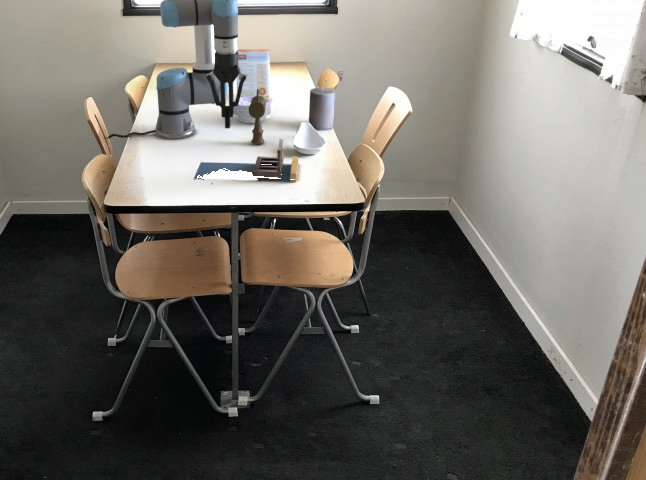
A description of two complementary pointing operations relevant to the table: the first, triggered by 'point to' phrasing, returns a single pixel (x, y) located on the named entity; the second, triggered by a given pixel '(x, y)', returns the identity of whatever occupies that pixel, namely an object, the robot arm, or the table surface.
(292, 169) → the rail
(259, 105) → the kendama
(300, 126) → the spoon rest
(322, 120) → the pillar candle
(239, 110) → the paper bowls
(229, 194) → the table surface
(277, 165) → the rack
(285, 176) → the runner mat
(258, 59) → the cracker box
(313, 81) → the table surface
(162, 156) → the table surface
